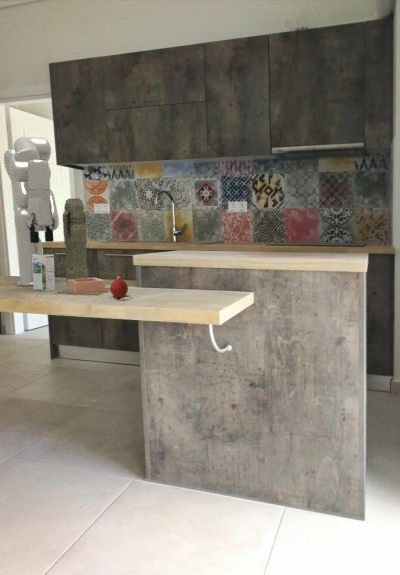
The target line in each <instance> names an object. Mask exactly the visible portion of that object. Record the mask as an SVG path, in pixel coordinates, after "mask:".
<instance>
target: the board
mask: <svg viewBox="0 0 400 575" xmlns="http://www.w3.org/2000/svg"><path fill="white" fill-rule="evenodd" d="M110 288H111V287H105V292H93V293H81V294H75V293H73V292H70V291H68V289H64V290H60V291H55V292H53V293H51V295H69V296H70V295H71V296H73V295H74V296H100V295H104V294H106V293H109V292H110V293H111V290H110Z"/></svg>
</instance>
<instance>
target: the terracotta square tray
mask: <svg viewBox="0 0 400 575" xmlns="http://www.w3.org/2000/svg"><path fill="white" fill-rule="evenodd" d="M66 287H67V289H68V291H70V292H73V293H75V294H81V293H93V292H105V288H106V282H105V279H101V278H98V277H89V278H83V279H68V280H67V282H66ZM67 289H66V290H67Z"/></svg>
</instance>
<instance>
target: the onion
mask: <svg viewBox="0 0 400 575" xmlns="http://www.w3.org/2000/svg"><path fill="white" fill-rule="evenodd" d="M128 287H129V286H128V284H127V282H126V281H125V280H124V279H123V278H121V276H119V275H117V276H116V279H114V280H113V281H112V282H111V284H110V287H109V288H110V290H111V291H110V293H111V294H112V296H113V297H115V298H116V299H117V300H119V301H120V300H121V299H123V298H124V297H125V296H126V295H127V293H128V291H129V288H128Z"/></svg>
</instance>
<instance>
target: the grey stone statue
mask: <svg viewBox="0 0 400 575" xmlns="http://www.w3.org/2000/svg"><path fill="white" fill-rule="evenodd" d="M86 216H87V215H86V212H85V205H84V202H83V200H82V199H80V198H67V199H66V200H65V203H64V211H63V213H62V225H63V226H62V227H63V240H64V245H65V256H66V258H65V260H66V268H65V281H66V282H65V283H67V280H68V279H83V278H90V277H89V269H88V267H87V266H88V264H87V243H88V239H87V238H88V236H87V235H88V233H87V232H88V230H87V218H86Z"/></svg>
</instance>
